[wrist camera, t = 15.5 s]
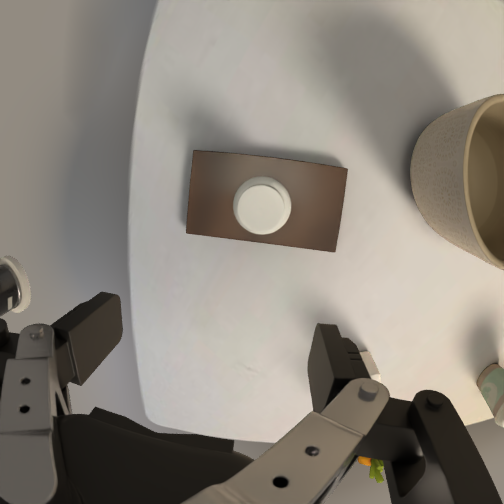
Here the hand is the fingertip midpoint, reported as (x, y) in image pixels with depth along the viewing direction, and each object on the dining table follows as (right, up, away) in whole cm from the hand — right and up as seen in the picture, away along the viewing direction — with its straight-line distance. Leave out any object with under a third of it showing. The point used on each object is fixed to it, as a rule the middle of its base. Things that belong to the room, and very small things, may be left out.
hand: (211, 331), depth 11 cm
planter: (+28, +13, +21) cm, 37 cm away
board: (+3, +9, +24) cm, 26 cm away
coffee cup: (+47, -21, +28) cm, 59 cm away
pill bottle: (+3, +9, +23) cm, 25 cm away
